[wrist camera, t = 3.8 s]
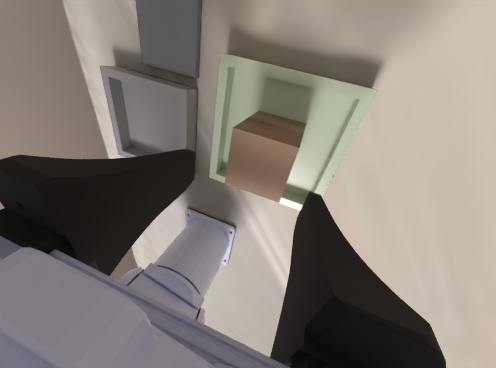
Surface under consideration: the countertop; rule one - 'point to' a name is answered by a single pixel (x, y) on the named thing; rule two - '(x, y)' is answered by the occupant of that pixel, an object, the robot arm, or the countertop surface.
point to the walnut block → (263, 154)
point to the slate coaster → (170, 34)
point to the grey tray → (149, 112)
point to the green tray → (292, 107)
